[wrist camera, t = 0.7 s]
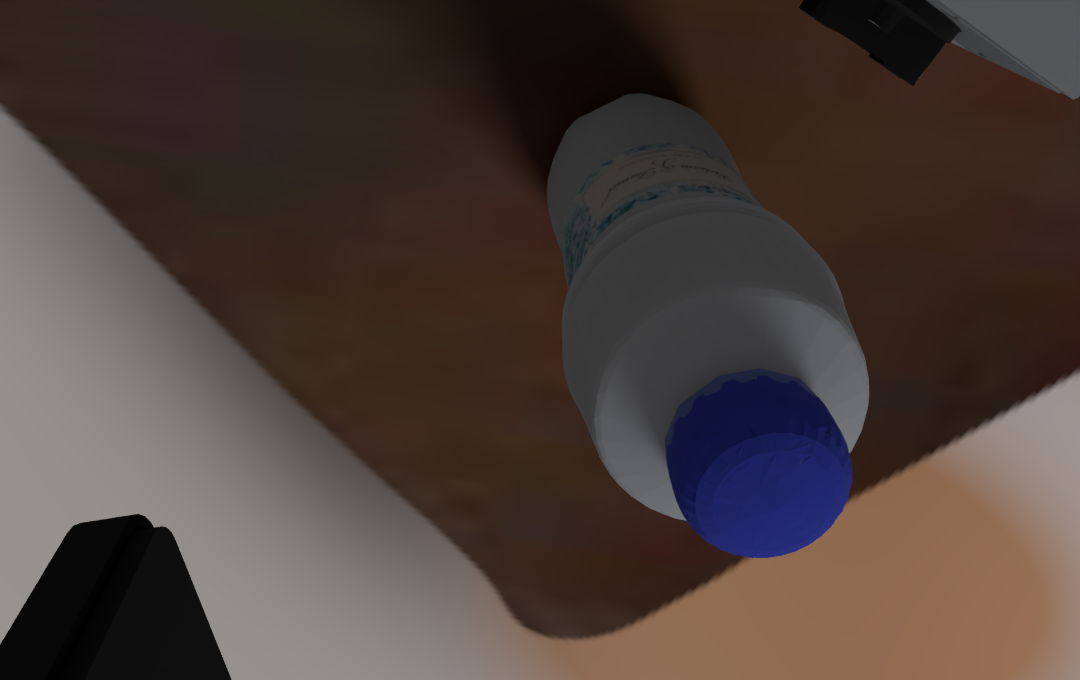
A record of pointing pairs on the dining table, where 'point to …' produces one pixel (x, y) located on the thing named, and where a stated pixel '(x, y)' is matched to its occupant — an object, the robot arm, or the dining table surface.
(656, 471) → the bottle
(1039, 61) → the circuit breaker
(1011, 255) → the dining table surface
